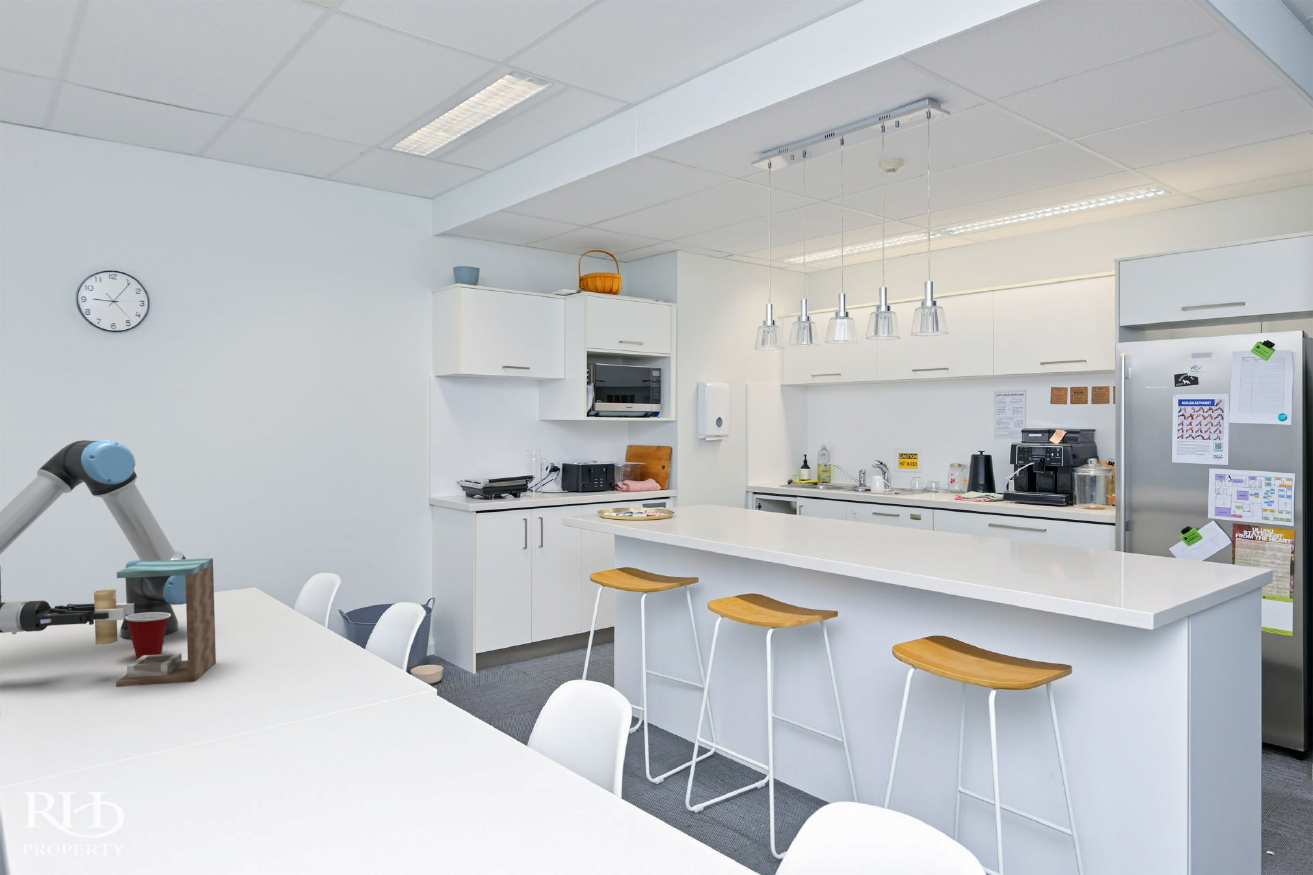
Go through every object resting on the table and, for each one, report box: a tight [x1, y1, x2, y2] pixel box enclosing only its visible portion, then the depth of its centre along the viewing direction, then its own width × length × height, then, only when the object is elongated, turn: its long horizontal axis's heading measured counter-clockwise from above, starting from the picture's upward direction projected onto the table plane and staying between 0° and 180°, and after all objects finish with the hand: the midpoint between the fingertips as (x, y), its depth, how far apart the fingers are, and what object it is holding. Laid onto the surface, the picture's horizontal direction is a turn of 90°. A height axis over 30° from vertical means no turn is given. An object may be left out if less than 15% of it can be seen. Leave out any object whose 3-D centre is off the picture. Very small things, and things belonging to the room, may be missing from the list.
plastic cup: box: [125, 612, 171, 660], centre depth 224 cm, size 11×11×12 cm
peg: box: [93, 588, 118, 645], centre depth 206 cm, size 5×5×13 cm
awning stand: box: [115, 557, 217, 687], centre depth 209 cm, size 15×18×28 cm
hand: (128, 611), depth 207 cm, fingers closed on peg, 4 cm apart
